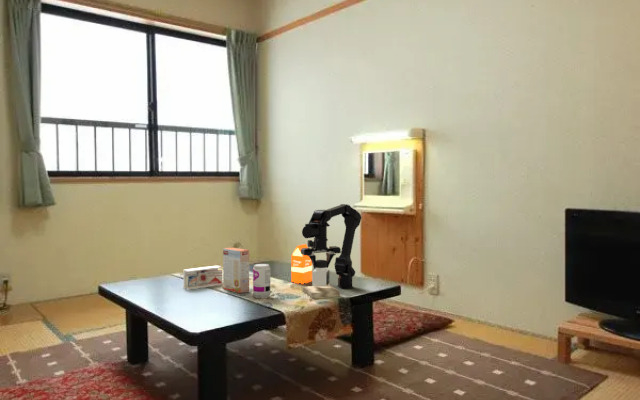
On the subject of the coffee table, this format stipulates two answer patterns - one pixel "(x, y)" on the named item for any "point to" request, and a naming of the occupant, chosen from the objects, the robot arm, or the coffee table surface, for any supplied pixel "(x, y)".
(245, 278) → the cracker box
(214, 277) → the cigarette display
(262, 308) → the coffee table surface
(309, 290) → the pale wooden riser board
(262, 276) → the supplement can
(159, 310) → the coffee table surface
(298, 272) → the orange juice
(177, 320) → the coffee table surface
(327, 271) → the medicine bottle
